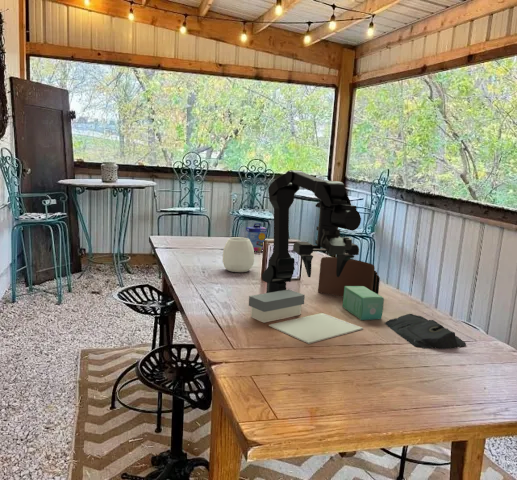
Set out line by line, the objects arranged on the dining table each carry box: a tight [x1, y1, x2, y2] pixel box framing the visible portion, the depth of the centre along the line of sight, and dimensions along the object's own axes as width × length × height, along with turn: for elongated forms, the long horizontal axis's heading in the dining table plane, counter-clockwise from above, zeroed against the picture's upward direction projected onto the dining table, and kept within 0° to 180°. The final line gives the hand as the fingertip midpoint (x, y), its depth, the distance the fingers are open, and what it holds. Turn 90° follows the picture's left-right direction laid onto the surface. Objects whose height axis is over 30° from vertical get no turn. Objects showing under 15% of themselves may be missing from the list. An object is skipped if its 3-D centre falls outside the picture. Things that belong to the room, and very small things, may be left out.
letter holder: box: [317, 256, 381, 298], centre depth 181 cm, size 10×20×14 cm, turn 62°
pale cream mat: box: [268, 312, 364, 345], centre depth 144 cm, size 16×22×1 cm
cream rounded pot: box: [222, 236, 255, 273], centre depth 209 cm, size 13×13×14 cm
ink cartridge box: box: [245, 223, 268, 251], centre depth 255 cm, size 10×6×14 cm, turn 112°
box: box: [342, 286, 385, 321], centre depth 159 cm, size 7×14×8 cm, turn 16°
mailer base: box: [250, 305, 302, 324], centre depth 152 cm, size 6×15×6 cm, turn 129°
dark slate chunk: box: [384, 313, 467, 350], centre depth 143 cm, size 15×22×5 cm
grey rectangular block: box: [248, 289, 305, 312], centre depth 152 cm, size 7×16×3 cm, turn 129°
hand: (323, 276), depth 148 cm, fingers open, 9 cm apart
